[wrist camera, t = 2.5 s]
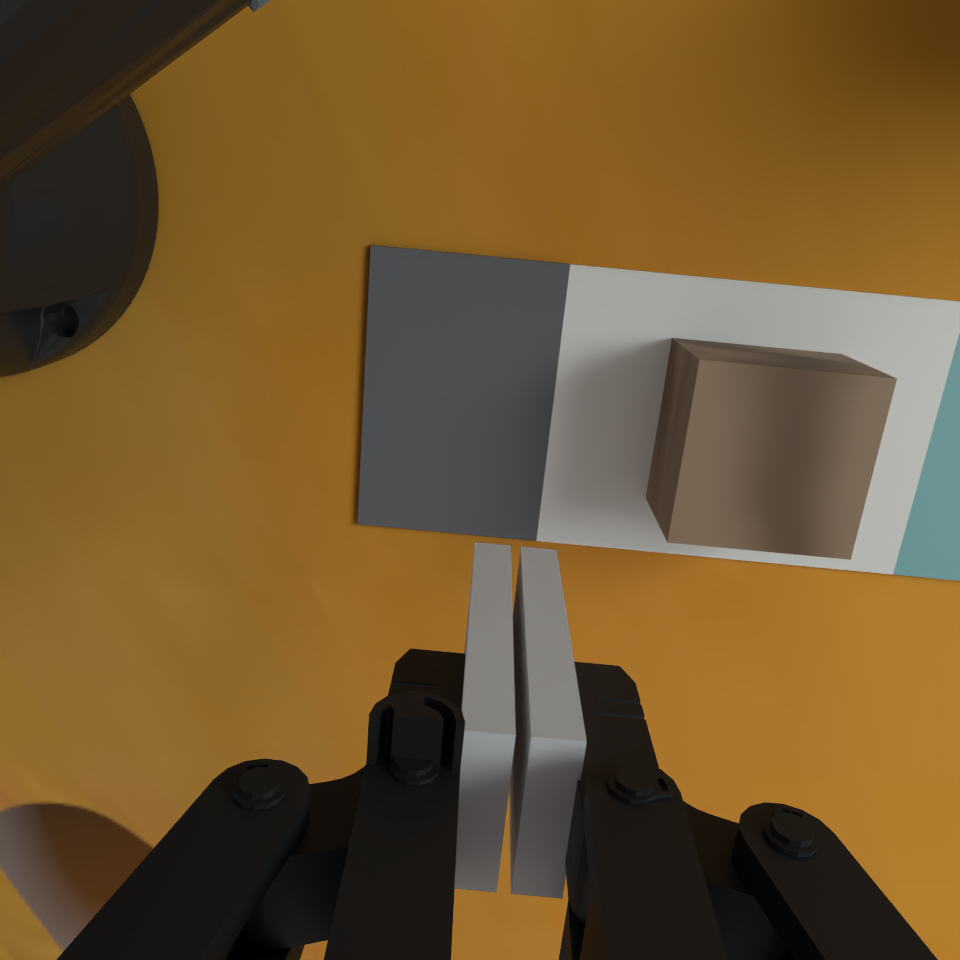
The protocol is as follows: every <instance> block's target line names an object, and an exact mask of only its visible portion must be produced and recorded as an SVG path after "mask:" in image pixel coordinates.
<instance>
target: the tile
mask: <svg viewBox="0 0 960 960" xmlns="http://www.w3.org/2000/svg"><path fill="white" fill-rule="evenodd" d="M959 333H960V301H950V300H940V299H929V298H919V297H908V296H898V295H888V294H877V293H867V292H856V291H846V290H835V289H825V288H814V287H804V286H794V285H783V284H773V283H762V282H752V281H741V280H731V279H721V278H710V277H700V276H689V275H679V274H668V273H658V272H647V271H637V270H627V269H616V268H606V267H595V266H585V265H574V264H570V271H569V279H568V287H567V295H566V303H565V311H564V320H563V328H562V336H561V344H560V352H559V361H558V369H557V377H556V385H555V393H554V401H553V410H552V418H551V426H550V434H549V442H548V450H547V459H546V467H545V475H544V483H543V491H542V500H541V508H540V516H539V524H538V532H537V540H536V541H542V542H553V543H564V544H574V545H585V546H595V547H606V548H617V549H627V550H638V551H649V552H659V553H670V554H681V555H691V556H702V557H713V558H723V559H734V560H745V561H755V562H766V563H777V564H787V565H798V566H808V567H819V568H830V569H840V570H851V571H862V572H872V573H883V574H893V572H894V569H895V565H896V562H897V558H898V554H899V551H900V547H901V543H902V540H903V536H904V533H905V529H906V525H907V522H908V518H909V514H910V511H911V507H912V504H913V500H914V496H915V493H916V489H917V485H918V482H919V478H920V474H921V471H922V467H923V464H924V460H925V456H926V453H927V449H928V445H929V442H930V438H931V435H932V431H933V427H934V424H935V420H936V416H937V413H938V409H939V406H940V402H941V398H942V395H943V391H944V387H945V384H946V380H947V376H948V373H949V369H950V366H951V362H952V358H953V355H954V351H955V347H956V344H957V340H958V337H959ZM672 338H681V339H691V340H701V341H712V342H722V343H733V344H743V345H754V346H764V347H775V348H785V349H796V350H806V351H817V352H827V353H838V354H843V355H845V356H848V357H850V358H852V359H854V360H857V361H859V362H861V363H863V364H866V365H868V366H870V367H872V368H875V369H877V370H879V371H881V372H884V373H886V374H888V375H890V376H893V377H895V378H897V381H896V385H895V389H894V393H893V397H892V400H891V404H890V408H889V412H888V416H887V420H886V424H885V428H884V432H883V436H882V439H881V443H880V447H879V451H878V455H877V459H876V463H875V467H874V471H873V475H872V479H871V482H870V486H869V490H868V494H867V498H866V502H865V506H864V510H863V514H862V518H861V522H860V525H859V529H858V533H857V537H856V541H855V545H854V549H853V553H852V557H851V560H848V559H837V558H826V557H816V556H805V555H794V554H784V553H773V552H763V551H752V550H741V549H731V548H720V547H709V546H699V545H688V544H677V543H667V541H666V539H665V537H664V535H663V533H662V531H661V529H660V527H659V524H658V522H657V520H656V518H655V516H654V514H653V512H652V510H651V508H650V506H649V504H648V502H647V500H646V492H647V486H648V480H649V474H650V468H651V462H652V456H653V450H654V444H655V438H656V432H657V425H658V419H659V413H660V407H661V401H662V395H663V389H664V383H665V377H666V371H667V365H668V359H669V353H670V347H671V341H672Z"/></svg>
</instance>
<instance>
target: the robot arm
mask: <svg viewBox="0 0 960 960" xmlns="http://www.w3.org/2000/svg"><path fill="white" fill-rule="evenodd" d="M268 2H269V0H0V377H5V376H10V375H16V374H20V373H23V372H27V371H30V370H33V369H36V368H39V367H42V366H44V365H47V364H50V363H53V362H56V361H59V360H61V359H64V358H66V357H68V356H71V355H73V354H75V353H77V352H78V351H80V350H82V349H84V348H85V347H87V346H88V345H90V344H91V343H93V342H94V341H96V340H97V339H98V338H99V337H101V336H102V335H103V334H104V333H106V332H107V331H108V330H109V329H110V328H111V327H112V326H113V325H114V324H115V323H116V322H117V320H118V319H119V318H120V317H121V316H122V315H123V313H124V312H125V311H126V309H127V308H128V307H129V305H130V304H131V302H132V300H133V299H134V297H135V295H136V294H137V292H138V290H139V288H140V286H141V284H142V282H143V280H144V277H145V275H146V272H147V270H148V267H149V264H150V260H151V257H152V253H153V249H154V245H155V239H156V233H157V224H158V186H157V177H156V170H155V165H154V160H153V155H152V151H151V147H150V143H149V140H148V136H147V134H146V131H145V128H144V125H143V122H142V120H141V117H140V115H139V113H138V110H137V108H136V106H135V104H134V102H133V100H132V98H131V96H130V93H132V92H133V91H134V90H136V89H137V88H138V87H140V86H141V85H142V84H144V83H145V82H146V81H148V80H149V79H150V78H152V77H153V76H154V75H156V74H157V73H158V72H160V71H161V70H162V69H164V68H165V67H166V66H168V65H169V64H170V63H172V62H173V61H174V60H176V59H177V58H178V57H180V56H181V55H182V54H184V53H185V52H186V51H188V50H189V49H191V48H192V47H193V46H195V45H196V44H197V43H199V42H200V41H201V40H203V39H204V38H205V37H207V36H208V35H209V34H211V33H212V32H213V31H215V30H216V29H217V28H219V27H220V26H221V25H223V24H224V23H225V22H227V21H228V20H229V19H231V18H232V17H233V16H235V15H236V14H237V13H239V12H240V11H241V10H243V9H244V8H245V7H247V6H249V7H250V9H251V10H252V11H253V12H255V11H256V10H257V9H259V8H260V7H262V6H263V5H265V4H266V3H268ZM509 791H510V866H511V894H519V895H530V896H541V897H552V898H562V897H563V891H564V884H565V878H566V877H567V887H568V898H569V899H568V906H567V912H566V918H565V924H564V931H563V937H562V943H561V949H560V956H559V960H938V959H937V958H936V957H935V956H934V955H933V953H932V952H931V951H930V950H929V948H928V947H927V946H926V945H925V944H924V942H923V941H922V940H921V939H920V937H919V936H918V935H917V934H916V933H915V931H914V930H913V929H912V928H911V926H910V925H909V924H908V923H907V922H906V920H905V919H904V918H903V917H902V915H901V914H900V913H899V912H898V911H897V909H896V908H895V907H894V906H893V904H892V903H891V902H890V901H889V900H888V898H887V897H886V896H885V895H884V893H883V892H882V891H881V890H880V889H879V887H878V886H877V885H876V884H875V882H874V881H873V880H872V879H871V878H870V876H869V875H868V874H867V873H866V871H865V870H864V869H863V868H862V867H861V865H860V864H859V863H858V862H857V860H856V859H855V858H854V857H853V856H852V854H851V853H850V852H849V851H848V849H847V848H846V847H845V846H844V845H843V843H842V842H841V841H840V840H839V839H838V837H837V836H836V835H835V834H834V833H833V832H832V831H831V830H830V829H829V828H828V827H827V826H826V825H825V824H824V823H823V822H821V821H820V820H819V819H817V818H815V817H814V816H812V815H810V814H808V813H806V812H805V811H803V810H801V809H797V808H794V807H791V806H788V805H785V804H778V803H761V804H757V805H753V806H750V807H749V808H747V809H746V810H745V811H744V812H743V813H742V814H741V816H740V821H739V823H735V822H732V821H729V820H726V819H723V818H720V817H717V816H714V815H711V814H708V813H706V812H703V811H701V810H698V809H696V808H694V807H692V806H691V805H689V804H687V803H685V802H684V801H683V799H682V796H681V792H680V791H679V789H678V787H677V785H676V783H675V782H674V780H673V779H671V778H670V777H669V776H668V775H667V774H666V773H664V772H663V771H662V770H661V769H659V766H658V763H657V759H656V756H655V752H654V748H653V745H652V741H651V738H650V734H649V730H648V727H647V723H646V720H644V712H643V709H642V705H640V698H639V694H638V691H637V687H636V684H635V682H634V681H633V680H632V679H631V678H630V677H629V676H628V675H627V674H626V673H625V671H624V670H623V669H622V668H621V667H620V666H614V665H603V664H592V663H582V662H574V658H573V651H572V645H571V639H570V632H569V626H568V620H567V613H566V607H565V601H564V594H563V588H562V582H561V575H560V569H559V563H558V556H557V550H552V549H542V548H531V547H521V549H520V558H519V567H518V575H517V584H516V592H515V601H514V610H513V612H512V575H511V546H510V545H499V544H488V543H478V542H475V548H474V558H473V568H472V579H471V589H470V599H469V610H468V620H467V631H466V641H465V651H464V654H463V653H452V652H442V651H431V650H420V649H410V650H409V651H408V652H406V653H405V654H404V655H403V656H402V657H401V658H400V659H399V660H398V661H397V662H396V663H395V667H394V672H393V676H392V681H391V685H390V689H389V693H388V696H387V697H385V698H384V699H382V700H380V701H379V702H377V703H376V704H375V705H374V707H373V709H372V710H371V712H370V714H369V727H368V745H367V763H366V765H365V766H364V767H363V768H362V769H360V770H359V771H357V772H356V773H354V774H352V775H349V776H347V777H344V778H342V779H337V780H333V781H329V782H322V783H315V784H309V782H308V778H307V776H306V775H305V774H304V773H303V772H302V771H301V770H300V769H299V768H298V767H296V766H294V765H292V764H289V763H287V762H285V761H281V760H272V759H258V760H251V761H245V762H242V763H240V764H237V765H235V766H232V767H230V768H227V769H226V770H225V771H224V772H222V773H221V774H220V775H219V776H217V777H216V778H215V779H214V780H213V781H212V782H211V783H210V784H209V786H208V787H207V788H206V789H205V790H204V791H203V792H202V794H201V795H200V796H199V797H198V798H197V799H196V801H195V802H194V803H193V804H192V805H191V806H190V807H189V809H188V810H187V811H186V812H185V813H184V814H183V815H182V817H181V818H180V819H179V820H178V821H177V822H176V823H175V825H174V826H173V827H172V828H171V829H170V830H169V831H168V833H167V834H166V835H165V836H164V837H163V838H162V839H161V841H160V842H159V843H158V844H157V845H156V846H155V847H154V849H153V850H152V851H151V852H150V853H149V854H148V856H147V857H146V858H145V859H144V860H143V861H142V862H141V864H140V865H139V866H138V867H137V868H136V869H135V870H134V872H133V873H132V874H131V875H130V876H129V877H128V878H127V880H126V881H125V882H124V883H123V884H122V886H120V888H119V889H118V890H117V891H116V893H114V895H113V896H112V897H111V898H110V899H109V900H108V901H107V902H106V904H105V905H104V906H103V907H102V908H101V909H100V911H99V912H98V913H97V914H96V915H95V916H94V917H93V919H92V920H91V921H90V922H89V923H88V924H87V926H86V927H85V928H84V929H83V930H82V931H81V932H80V934H79V935H78V936H77V937H76V938H75V939H74V940H73V942H72V943H71V944H70V945H69V946H68V947H67V948H66V949H65V951H64V952H63V953H62V954H61V955H60V956H59V957H58V959H57V960H299V959H300V958H301V955H302V951H303V948H304V945H305V944H310V943H315V942H320V941H325V940H328V943H327V948H326V952H325V957H324V960H451V945H452V925H453V905H454V889H464V890H475V891H486V892H496V891H497V883H498V875H499V867H500V859H501V851H502V843H503V834H504V826H505V818H506V810H507V802H508V794H509Z"/></svg>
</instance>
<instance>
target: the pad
mask: <svg viewBox="0 0 960 960" xmlns="http://www.w3.org/2000/svg"><path fill="white" fill-rule="evenodd" d="M893 574H894V575H904V576H915V577H926V578H936V579H947V580H958V581H960V333H959V337H958V340H957V344H956V347H955V351H954V355H953V358H952V362H951V366H950V369H949V373H948V376H947V380H946V384H945V387H944V391H943V395H942V398H941V402H940V406H939V409H938V413H937V416H936V420H935V424H934V427H933V431H932V435H931V438H930V442H929V445H928V449H927V453H926V456H925V460H924V464H923V467H922V471H921V474H920V478H919V482H918V485H917V489H916V493H915V496H914V500H913V504H912V507H911V511H910V514H909V518H908V522H907V525H906V529H905V533H904V536H903V540H902V543H901V547H900V551H899V554H898V558H897V562H896V565H895V569H894V572H893Z"/></svg>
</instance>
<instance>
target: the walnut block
mask: <svg viewBox="0 0 960 960" xmlns="http://www.w3.org/2000/svg"><path fill="white" fill-rule="evenodd" d="M896 381H897V378H895V377H893V376H890V375H888V374H886V373H884V372H881V371H879V370H877V369H875V368H872V367H870V366H868V365H866V364H863V363H861V362H859V361H857V360H854V359H852V358H850V357H848V356H845V355H843V354H838V353H827V352H817V351H806V350H796V349H785V348H775V347H764V346H754V345H743V344H733V343H722V342H712V341H701V340H691V339H681V338H672V341H671V347H670V353H669V359H668V365H667V371H666V377H665V383H664V389H663V395H662V401H661V407H660V413H659V419H658V425H657V432H656V438H655V444H654V450H653V456H652V462H651V468H650V474H649V480H648V486H647V492H646V500H647V502H648V504H649V506H650V508H651V510H652V512H653V514H654V516H655V518H656V520H657V522H658V524H659V527H660V529H661V531H662V533H663V535H664V537H665V539H666V541H667V543H677V544H688V545H699V546H709V547H720V548H731V549H741V550H752V551H763V552H773V553H784V554H794V555H805V556H816V557H826V558H837V559H848V560H851V557H852V553H853V549H854V545H855V541H856V537H857V533H858V529H859V525H860V522H861V518H862V514H863V510H864V506H865V502H866V498H867V494H868V490H869V486H870V482H871V479H872V475H873V471H874V467H875V463H876V459H877V455H878V451H879V447H880V443H881V439H882V436H883V432H884V428H885V424H886V420H887V416H888V412H889V408H890V404H891V400H892V397H893V393H894V389H895V385H896Z"/></svg>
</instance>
